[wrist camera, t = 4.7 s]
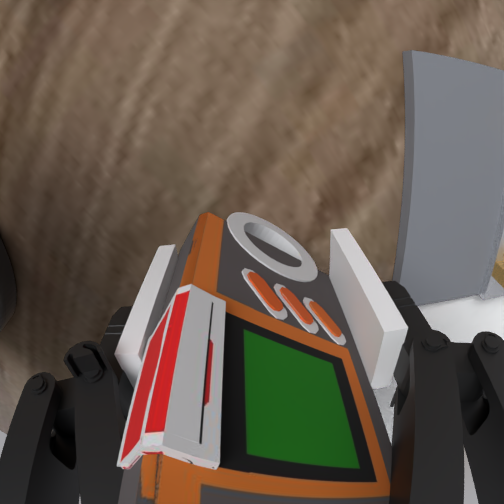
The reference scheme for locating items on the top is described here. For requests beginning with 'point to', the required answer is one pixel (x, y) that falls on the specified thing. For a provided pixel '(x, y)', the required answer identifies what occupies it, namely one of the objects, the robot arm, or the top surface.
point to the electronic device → (252, 382)
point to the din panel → (449, 175)
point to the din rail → (495, 263)
